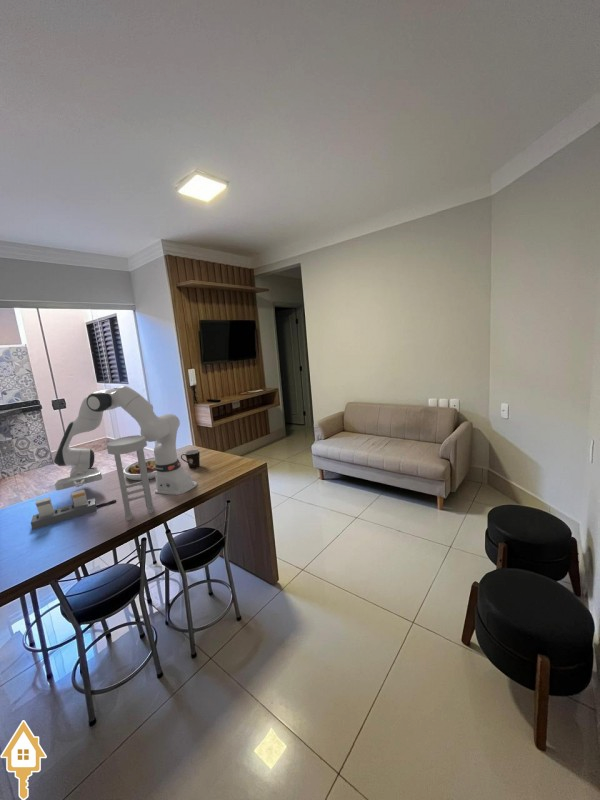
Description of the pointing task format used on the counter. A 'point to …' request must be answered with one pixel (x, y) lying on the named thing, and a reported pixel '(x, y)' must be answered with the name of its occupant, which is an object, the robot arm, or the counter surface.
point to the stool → (137, 445)
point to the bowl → (134, 471)
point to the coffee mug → (192, 459)
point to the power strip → (65, 513)
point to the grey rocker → (44, 506)
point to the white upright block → (79, 497)
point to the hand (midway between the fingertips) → (79, 485)
